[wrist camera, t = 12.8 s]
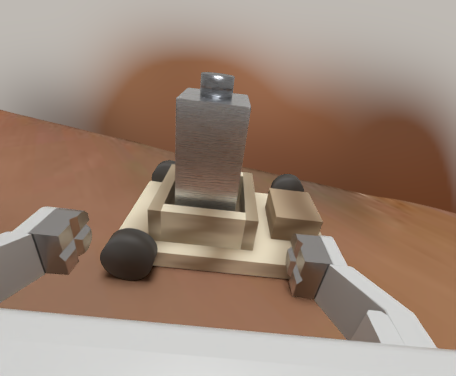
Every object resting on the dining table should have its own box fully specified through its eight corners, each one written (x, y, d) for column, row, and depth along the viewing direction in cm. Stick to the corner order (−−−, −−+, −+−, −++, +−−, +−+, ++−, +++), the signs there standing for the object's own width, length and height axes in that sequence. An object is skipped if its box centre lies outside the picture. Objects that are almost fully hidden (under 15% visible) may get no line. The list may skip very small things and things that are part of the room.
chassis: (100, 277, 19) (91, 229, 16) (154, 185, 31) (153, 151, 29) (339, 300, 19) (360, 257, 17) (298, 201, 32) (308, 169, 30)
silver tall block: (174, 229, 22) (176, 73, 16) (184, 199, 26) (188, 68, 20) (231, 235, 22) (254, 83, 16) (231, 204, 27) (250, 75, 21)
